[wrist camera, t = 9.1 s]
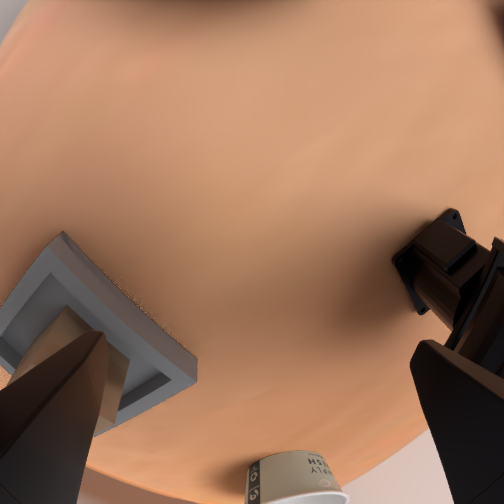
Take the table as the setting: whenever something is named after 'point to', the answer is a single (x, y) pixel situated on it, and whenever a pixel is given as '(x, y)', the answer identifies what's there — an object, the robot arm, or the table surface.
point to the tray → (94, 325)
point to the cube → (60, 335)
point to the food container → (293, 480)
